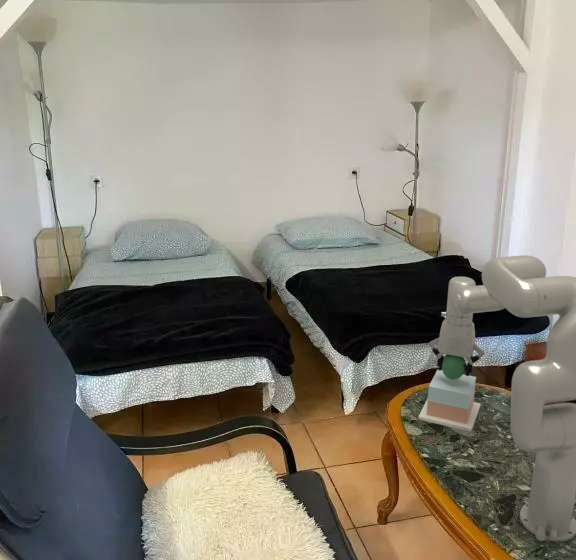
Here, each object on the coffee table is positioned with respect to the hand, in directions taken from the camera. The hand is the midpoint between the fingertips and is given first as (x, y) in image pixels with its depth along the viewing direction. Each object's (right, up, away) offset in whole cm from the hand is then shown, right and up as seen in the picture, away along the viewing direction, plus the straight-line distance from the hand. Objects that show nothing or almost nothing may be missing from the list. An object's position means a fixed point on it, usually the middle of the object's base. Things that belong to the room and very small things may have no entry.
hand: (454, 371), depth 184 cm
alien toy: (0, -3, +1) cm, 3 cm away
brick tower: (0, -14, +5) cm, 15 cm away
